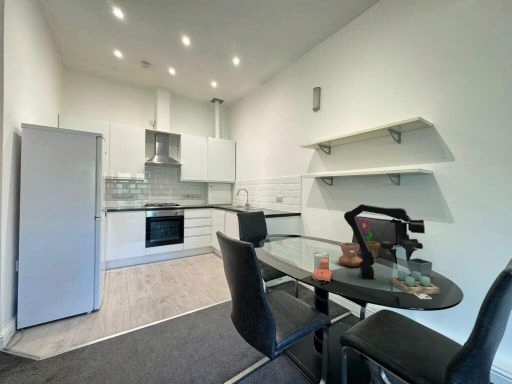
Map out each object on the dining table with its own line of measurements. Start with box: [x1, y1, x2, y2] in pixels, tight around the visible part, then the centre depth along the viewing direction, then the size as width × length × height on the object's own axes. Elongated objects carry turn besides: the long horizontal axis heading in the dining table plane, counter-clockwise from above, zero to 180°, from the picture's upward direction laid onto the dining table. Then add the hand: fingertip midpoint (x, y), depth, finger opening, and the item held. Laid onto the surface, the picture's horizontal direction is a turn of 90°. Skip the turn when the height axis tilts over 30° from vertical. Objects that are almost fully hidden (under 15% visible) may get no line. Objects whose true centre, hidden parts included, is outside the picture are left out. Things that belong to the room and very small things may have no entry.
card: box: [413, 293, 433, 300], centre depth 103 cm, size 5×5×1 cm
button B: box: [405, 275, 415, 287], centre depth 110 cm, size 4×4×4 cm
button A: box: [397, 270, 408, 281], centre depth 117 cm, size 4×4×4 cm
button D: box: [420, 276, 431, 287], centre depth 109 cm, size 4×4×4 cm
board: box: [389, 276, 441, 295], centre depth 113 cm, size 15×15×2 cm
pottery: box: [311, 256, 333, 283], centre depth 131 cm, size 18×10×10 cm, turn 155°
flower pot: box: [406, 257, 433, 277], centre depth 127 cm, size 9×9×9 cm
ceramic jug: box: [338, 241, 363, 268], centre depth 151 cm, size 18×14×14 cm
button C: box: [410, 271, 421, 282], centre depth 116 cm, size 4×4×4 cm
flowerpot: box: [358, 216, 381, 258], centre depth 169 cm, size 14×14×30 cm
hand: (401, 261), depth 117 cm, fingers open, 6 cm apart
